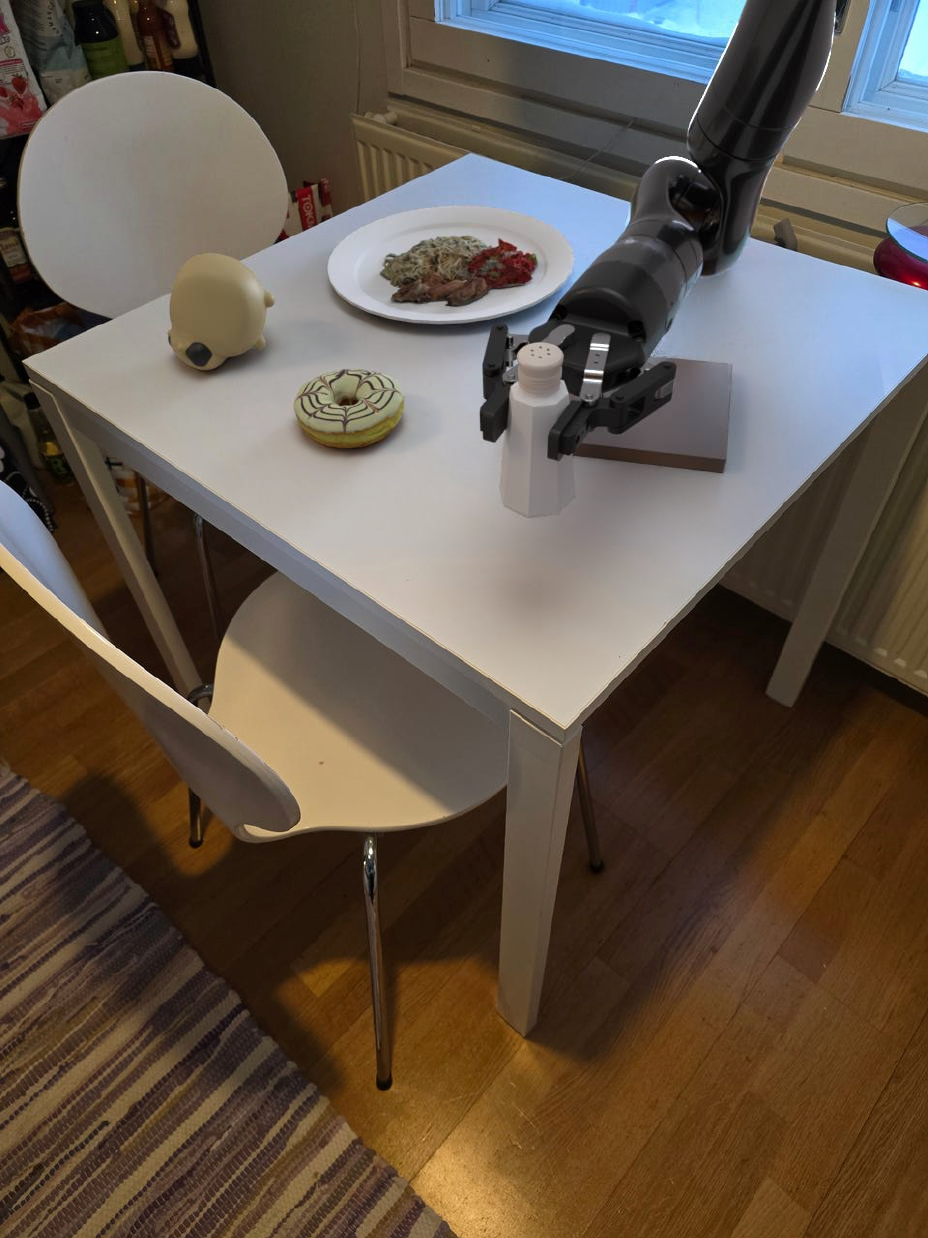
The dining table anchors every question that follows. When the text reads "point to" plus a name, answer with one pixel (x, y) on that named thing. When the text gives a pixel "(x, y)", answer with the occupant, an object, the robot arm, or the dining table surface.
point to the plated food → (450, 264)
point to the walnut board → (675, 423)
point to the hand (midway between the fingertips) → (520, 438)
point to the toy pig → (216, 311)
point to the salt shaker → (536, 436)
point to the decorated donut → (349, 407)
